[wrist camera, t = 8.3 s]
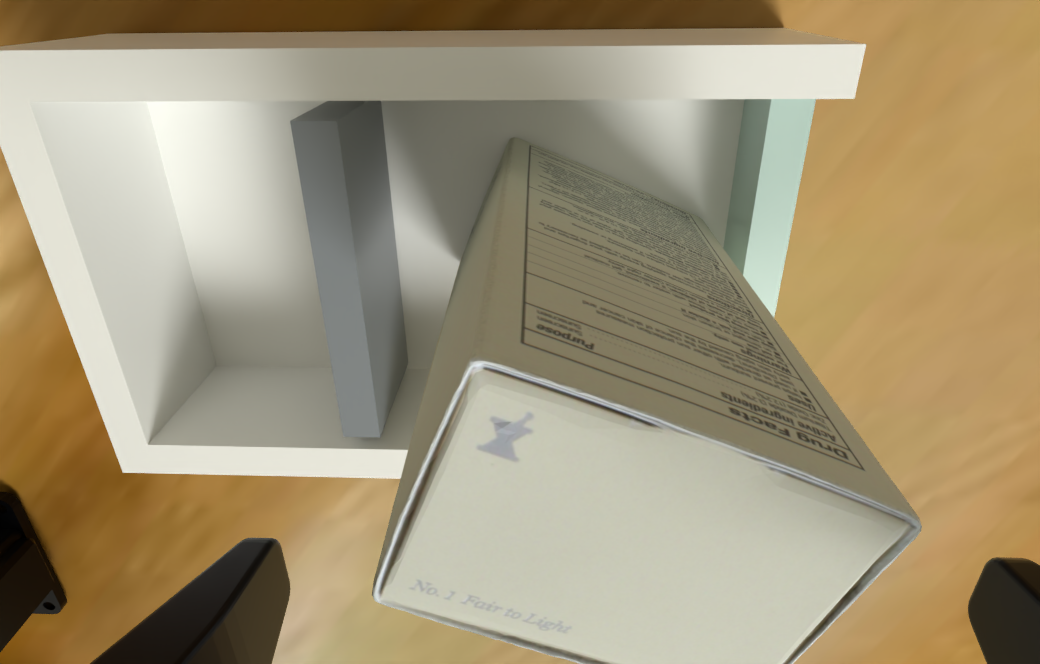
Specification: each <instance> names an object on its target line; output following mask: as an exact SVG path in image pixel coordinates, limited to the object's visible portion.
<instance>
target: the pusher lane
mask: <svg viewBox="0 0 1040 664" xmlns="http://www.w3.org/2000/svg"><path fill="white" fill-rule="evenodd" d="M865 48H866V44H863V43H858V42H853V41H848V40H843V39H838V38H833V37H828V36H823V35H818V34H813V33H808V32H803V31H798V30H794V29H789V28H708V29H589V30H471V31H352V32H233V33H115V34H102V35H93V36H85V37H77V38H68V39H60V40H51V41H43V42H34V43H26V44H18V45H9V46H1V47H0V146H1V149H2V152H3V154H4V157H5V160H6V162H7V165H8V168H9V170H10V173H11V176H12V178H13V181H14V183H15V186H16V189H17V191H18V194H19V197H20V199H21V202H22V205H23V207H24V210H25V213H26V215H27V218H28V221H29V223H30V226H31V229H32V231H33V234H34V237H35V239H36V242H37V245H38V247H39V250H40V253H41V255H42V258H43V261H44V263H45V266H46V269H47V271H48V274H49V277H50V279H51V282H52V285H53V287H54V290H55V293H56V295H57V298H58V301H59V303H60V306H61V309H62V311H63V314H64V317H65V319H66V322H67V325H68V327H69V330H70V333H71V335H72V338H73V341H74V343H75V346H76V349H77V351H78V354H79V357H80V359H81V362H82V365H83V367H84V370H85V373H86V375H87V378H88V381H89V383H90V386H91V389H92V391H93V394H94V397H95V399H96V402H97V405H98V407H99V410H100V413H101V415H102V418H103V421H104V423H105V426H106V429H107V431H108V434H109V437H110V439H111V442H112V445H113V447H114V450H115V453H116V455H117V458H118V461H119V463H120V466H121V469H122V471H123V473H167V474H213V475H259V476H305V477H351V478H397V479H401V476H402V472H403V468H404V464H405V460H406V456H407V452H408V449H409V445H410V441H411V437H412V434H413V430H414V427H415V423H416V419H417V415H418V411H419V408H420V404H421V401H422V397H423V394H424V390H425V387H426V383H427V379H428V375H429V372H430V368H431V365H432V361H433V358H434V354H435V350H436V346H437V342H438V339H439V335H440V332H441V329H442V325H443V322H444V318H445V314H446V311H447V307H448V304H449V300H450V296H451V293H452V289H453V286H454V282H455V278H456V275H457V271H458V268H459V264H460V261H461V258H462V255H463V253H464V250H465V247H466V244H467V242H468V239H469V236H470V233H471V231H472V228H473V225H474V223H475V220H476V218H477V215H478V213H479V210H480V208H481V205H482V203H483V200H484V198H485V195H486V193H487V190H488V188H489V186H490V183H491V181H492V178H493V176H494V174H495V171H496V169H497V167H498V164H499V162H500V160H501V157H502V155H503V153H504V150H505V148H506V145H507V143H508V141H509V140H510V139H511V138H513V137H515V138H519V139H522V140H524V141H527V142H529V143H532V144H534V145H536V146H539V147H542V148H544V149H547V150H549V151H552V152H554V153H557V154H559V155H561V156H564V157H566V158H568V159H571V160H573V161H575V162H578V163H580V164H583V165H585V166H587V167H590V168H592V169H594V170H596V171H598V172H601V173H603V174H605V175H608V176H610V177H613V178H615V179H617V180H620V181H622V182H624V183H626V184H628V185H631V186H633V187H635V188H637V189H640V190H642V191H644V192H646V193H649V194H651V195H653V196H655V197H657V198H660V199H662V200H664V201H666V202H668V203H670V204H673V205H675V206H677V207H679V208H681V209H683V210H685V211H688V212H690V213H692V214H694V215H696V216H698V217H700V218H701V219H702V220H703V221H704V222H705V224H706V225H707V226H708V228H709V229H710V231H711V232H712V233H713V235H714V236H715V237H716V239H717V240H718V242H719V243H720V244H721V246H722V247H723V249H724V250H725V251H726V253H727V254H728V256H729V257H730V258H731V260H732V261H733V263H734V264H735V265H736V267H737V268H738V269H739V271H740V272H741V273H742V275H743V276H744V277H745V279H746V280H747V282H748V283H749V284H750V286H751V287H752V289H753V290H754V291H755V293H756V294H757V295H758V297H759V298H760V300H761V301H762V302H763V304H764V305H765V306H766V308H767V309H768V311H769V312H770V313H771V315H772V316H773V317H774V316H775V310H776V305H777V300H778V295H779V289H780V284H781V279H782V274H783V269H784V263H785V258H786V253H787V248H788V242H789V237H790V232H791V227H792V222H793V216H794V211H795V206H796V201H797V195H798V190H799V185H800V180H801V175H802V169H803V164H804V159H805V154H806V148H807V143H808V138H809V133H810V128H811V122H812V117H813V112H814V107H815V101H816V99H854V98H855V94H856V89H857V84H858V80H859V75H860V71H861V66H862V61H863V57H864V52H865ZM326 101H381V105H382V115H383V124H384V134H385V143H386V153H387V163H388V172H389V182H390V191H391V201H392V210H393V220H394V230H395V239H396V249H397V258H398V268H399V278H400V287H401V297H402V306H403V316H404V325H405V335H406V345H407V354H408V365H407V368H406V371H405V373H404V376H403V379H402V381H401V384H400V387H399V389H398V392H397V394H396V397H395V400H394V402H393V405H392V408H391V410H390V413H389V416H388V418H387V421H386V424H385V426H384V429H383V431H382V434H381V437H380V438H379V437H343V432H342V426H341V420H340V414H339V408H338V402H337V396H336V391H335V385H334V379H333V373H332V367H331V361H330V355H329V349H328V343H327V337H326V331H325V325H324V319H323V314H322V308H321V302H320V296H319V290H318V284H317V278H316V272H315V266H314V260H313V254H312V248H311V242H310V237H309V231H308V225H307V219H306V213H305V207H304V201H303V195H302V189H301V183H300V177H299V171H298V165H297V159H296V154H295V148H294V142H293V136H292V130H291V124H290V121H291V120H293V119H295V118H296V117H298V116H300V115H302V114H304V113H306V112H308V111H310V110H311V109H313V108H315V107H317V106H319V105H321V104H323V103H325V102H326Z"/></svg>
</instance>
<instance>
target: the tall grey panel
mask: <svg viewBox="0 0 1040 664" xmlns="http://www.w3.org/2000/svg"><path fill="white" fill-rule="evenodd" d="M290 124H291V130H292V136H293V142H294V148H295V154H296V159H297V165H298V171H299V177H300V183H301V189H302V195H303V201H304V207H305V213H306V219H307V225H308V231H309V237H310V242H311V248H312V254H313V260H314V266H315V272H316V278H317V284H318V290H319V296H320V302H321V308H322V314H323V319H324V325H325V331H326V337H327V343H328V349H329V355H330V361H331V367H332V373H333V379H334V385H335V391H336V396H337V402H338V408H339V414H340V420H341V426H342V432H343V437H379V438H380V437H381V434H382V431H383V429H384V426H385V424H386V421H387V418H388V416H389V413H390V410H391V408H392V405H393V402H394V400H395V397H396V394H397V392H398V389H399V387H400V384H401V381H402V379H403V376H404V373H405V371H406V368H407V365H408V354H407V345H406V335H405V325H404V316H403V306H402V297H401V287H400V278H399V268H398V258H397V249H396V239H395V230H394V220H393V210H392V201H391V191H390V182H389V172H388V163H387V153H386V143H385V134H384V124H383V115H382V105H381V101H326V102H325V103H323V104H321V105H319V106H317V107H315V108H313V109H311V110H310V111H308V112H306V113H304V114H302V115H300V116H298V117H296V118H295V119H293V120H291V121H290Z"/></svg>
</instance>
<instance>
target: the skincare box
mask: <svg viewBox="0 0 1040 664" xmlns="http://www.w3.org/2000/svg"><path fill="white" fill-rule="evenodd" d="M921 528H922V526H921V523H920V519H919V517H918V516H917V514H916V513H915V512H914V510H913V509H912V507H911V506H910V505H909V503H908V502H907V500H906V499H905V497H904V496H903V495H902V493H901V492H900V491H899V489H898V488H897V487H896V485H895V484H894V483H893V481H892V480H891V479H890V477H889V476H888V475H887V473H886V472H885V470H884V469H883V468H882V466H881V465H880V464H879V462H878V461H877V459H876V458H875V457H874V455H873V454H872V452H871V451H870V449H869V448H868V447H867V445H866V444H865V442H864V441H863V440H862V438H861V437H860V436H859V434H858V433H857V432H856V430H855V429H854V427H853V426H852V425H851V423H850V422H849V421H848V419H847V418H846V417H845V415H844V414H843V412H842V411H841V410H840V408H839V407H838V406H837V404H836V403H835V402H834V400H833V399H832V397H831V396H830V395H829V393H828V392H827V391H826V389H825V388H824V387H823V385H822V384H821V382H820V381H819V380H818V378H817V377H816V375H815V374H814V373H813V371H812V370H811V368H810V367H809V366H808V364H807V363H806V362H805V360H804V359H803V357H802V356H801V355H800V353H799V352H798V350H797V349H796V348H795V346H794V345H793V344H792V342H791V341H790V339H789V338H788V337H787V335H786V334H785V333H784V331H783V330H782V329H781V327H780V326H779V324H778V323H777V322H776V320H775V319H774V317H773V316H772V315H771V313H770V312H769V311H768V309H767V308H766V306H765V305H764V304H763V302H762V301H761V300H760V298H759V297H758V295H757V294H756V293H755V291H754V290H753V289H752V287H751V286H750V284H749V283H748V282H747V280H746V279H745V277H744V276H743V275H742V273H741V272H740V271H739V269H738V268H737V267H736V265H735V264H734V263H733V261H732V260H731V258H730V257H729V256H728V254H727V253H726V251H725V250H724V249H723V247H722V246H721V244H720V243H719V242H718V240H717V239H716V237H715V236H714V235H713V233H712V232H711V231H710V229H709V228H708V226H707V225H706V224H705V222H704V221H703V220H702V219H701V218H700V217H698V216H696V215H694V214H692V213H690V212H688V211H685V210H683V209H681V208H679V207H677V206H675V205H673V204H670V203H668V202H666V201H664V200H662V199H660V198H657V197H655V196H653V195H651V194H649V193H646V192H644V191H642V190H640V189H637V188H635V187H633V186H631V185H628V184H626V183H624V182H622V181H620V180H617V179H615V178H613V177H610V176H608V175H605V174H603V173H601V172H598V171H596V170H594V169H592V168H590V167H587V166H585V165H583V164H580V163H578V162H575V161H573V160H571V159H568V158H566V157H564V156H561V155H559V154H557V153H554V152H552V151H549V150H547V149H544V148H542V147H539V146H536V145H534V144H532V143H529V142H527V141H524V140H522V139H519V138H515V137H513V138H511V139H510V140H509V141H508V143H507V145H506V148H505V150H504V153H503V155H502V157H501V160H500V162H499V164H498V167H497V169H496V171H495V174H494V176H493V178H492V181H491V183H490V186H489V188H488V190H487V193H486V195H485V198H484V200H483V203H482V205H481V208H480V210H479V213H478V215H477V218H476V220H475V223H474V225H473V228H472V231H471V233H470V236H469V239H468V242H467V244H466V247H465V250H464V253H463V255H462V258H461V261H460V264H459V268H458V271H457V275H456V278H455V282H454V286H453V289H452V293H451V296H450V300H449V304H448V307H447V311H446V314H445V318H444V322H443V325H442V329H441V332H440V335H439V339H438V342H437V346H436V350H435V354H434V358H433V361H432V365H431V368H430V372H429V375H428V379H427V383H426V387H425V390H424V394H423V397H422V401H421V404H420V408H419V411H418V415H417V419H416V423H415V427H414V430H413V434H412V437H411V441H410V445H409V449H408V452H407V456H406V460H405V464H404V468H403V472H402V476H401V479H400V483H399V487H398V491H397V494H396V498H395V501H394V505H393V509H392V513H391V517H390V521H389V525H388V529H387V532H386V536H385V540H384V544H383V548H382V552H381V555H380V559H379V563H378V567H377V571H376V574H375V578H374V583H373V591H372V595H373V598H374V600H375V601H376V602H378V603H380V604H383V605H386V606H388V607H392V608H395V609H399V610H403V611H407V612H409V613H411V614H414V615H417V616H420V617H424V618H427V619H430V620H433V621H437V622H439V623H442V624H445V625H448V626H452V627H456V628H459V629H462V630H467V631H470V632H473V633H476V634H480V635H483V636H487V637H490V638H492V639H495V640H502V641H504V642H507V643H512V644H514V645H516V646H519V647H523V648H527V649H531V650H535V651H538V652H541V653H544V654H547V655H550V656H553V657H558V658H562V659H566V660H569V661H573V662H576V663H579V664H793V663H794V662H795V661H796V660H797V659H798V658H799V657H800V656H801V655H802V654H803V653H804V652H805V651H806V650H807V649H808V648H809V647H810V646H811V645H812V644H813V643H814V642H815V641H816V640H817V639H818V638H819V637H820V636H821V635H822V634H823V633H824V632H825V631H826V630H827V629H828V628H829V627H830V626H831V625H832V623H833V622H834V621H835V620H836V619H837V618H839V617H840V616H841V615H842V614H843V613H844V612H845V611H846V610H847V609H848V608H849V607H850V606H851V605H852V604H853V603H854V602H855V601H856V600H857V598H858V597H859V596H860V595H861V594H862V593H863V592H864V591H865V590H866V589H867V588H868V587H869V586H870V585H871V584H872V583H873V582H874V580H875V579H876V578H877V577H878V576H879V575H880V574H881V573H882V572H883V571H884V570H885V569H886V568H887V567H888V566H889V565H890V564H891V563H892V562H893V561H894V560H895V559H896V558H897V557H898V556H899V555H900V554H901V553H902V552H903V551H904V549H905V548H906V547H907V546H908V545H909V544H910V543H911V542H912V541H913V540H914V539H916V537H917V536H918V534H919V533H920V532H921Z"/></svg>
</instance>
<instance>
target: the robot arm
mask: <svg viewBox="0 0 1040 664" xmlns="http://www.w3.org/2000/svg"><path fill="white" fill-rule="evenodd" d="M289 595H290V581H289V577H288V573H287V569H286V565H285V561H284V556H283V552H282V548H281V545H280V543H279V542H278V541H277V540H276V539H273V538H246V539H244V540H242V541H241V542H239V543H238V544H237V545H236V546H234V547H233V548H232V549H231V550H229V551H228V552H227V553H226V554H224V555H223V556H222V557H221V558H220V559H218V560H217V561H216V562H215V563H213V564H212V565H211V566H210V567H208V568H207V569H206V570H205V571H204V572H202V573H201V574H200V575H199V576H197V577H196V578H195V579H194V580H192V581H191V582H190V583H189V584H187V585H186V586H185V587H184V588H183V589H181V590H180V591H179V592H178V593H176V594H175V595H174V596H173V597H171V598H170V599H169V600H168V601H167V602H165V603H164V604H163V605H162V606H160V607H159V608H158V609H157V610H155V611H154V612H153V613H152V614H150V615H149V616H148V617H147V618H146V619H144V620H143V621H142V622H141V623H139V624H138V625H137V626H136V627H134V628H133V629H132V630H131V631H130V632H128V633H127V634H126V635H125V636H123V637H122V638H121V639H120V640H118V641H117V642H116V643H115V644H113V645H112V646H111V647H110V648H109V649H107V650H106V651H105V652H104V653H102V654H101V655H100V656H99V657H97V658H96V659H95V660H94V661H93V662H91V663H90V664H272V660H273V657H274V653H275V649H276V646H277V642H278V638H279V634H280V631H281V627H282V623H283V620H284V616H285V612H286V609H287V605H288V601H289ZM66 603H67V599H66V597H65V595H64V592H63V590H62V588H61V586H60V584H59V582H58V580H57V578H56V576H55V574H54V572H53V570H52V568H51V565H50V563H49V561H48V559H47V557H46V555H45V553H44V551H43V549H42V547H41V545H40V543H39V541H38V539H37V536H36V534H35V532H34V530H33V528H32V526H31V524H30V522H29V520H28V518H27V516H26V514H25V512H24V509H23V507H22V505H21V503H20V501H19V500H18V499H17V498H16V497H15V496H14V495H12V494H10V493H7V492H0V652H1V651H2V650H3V648H4V647H5V646H6V645H7V643H8V642H9V641H10V640H11V639H12V637H13V636H14V635H15V634H16V633H17V631H18V630H19V629H20V628H21V626H22V625H23V624H24V623H25V622H26V620H27V619H28V618H29V617H30V616H31V614H32V613H36V614H57V613H59V612H60V611H61V610H62V609H63V607H64V606H65V605H66ZM968 614H969V619H970V622H971V625H972V628H973V630H974V632H975V635H976V637H977V640H978V642H979V645H980V647H981V650H982V652H983V655H984V657H985V660H986V662H987V664H1040V565H1038V564H1036V563H1035V562H1033V561H1031V560H1028V559H1024V558H998V557H996V558H992V559H991V560H989V561H988V562H987V563H986V564H985V566H984V568H983V571H982V573H981V575H980V577H979V580H978V582H977V584H976V586H975V589H974V591H973V593H972V595H971V597H970V600H969V605H968Z"/></svg>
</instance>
